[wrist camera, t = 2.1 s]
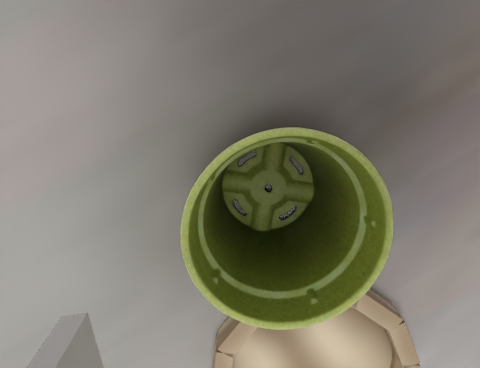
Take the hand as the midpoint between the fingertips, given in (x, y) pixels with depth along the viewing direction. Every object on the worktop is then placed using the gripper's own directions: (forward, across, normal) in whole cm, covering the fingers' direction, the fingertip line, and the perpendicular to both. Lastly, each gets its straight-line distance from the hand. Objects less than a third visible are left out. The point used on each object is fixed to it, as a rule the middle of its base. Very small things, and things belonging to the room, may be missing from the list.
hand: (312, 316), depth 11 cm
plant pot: (+14, 0, 0) cm, 14 cm away
